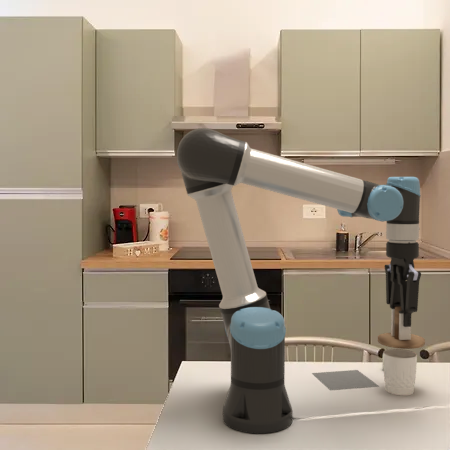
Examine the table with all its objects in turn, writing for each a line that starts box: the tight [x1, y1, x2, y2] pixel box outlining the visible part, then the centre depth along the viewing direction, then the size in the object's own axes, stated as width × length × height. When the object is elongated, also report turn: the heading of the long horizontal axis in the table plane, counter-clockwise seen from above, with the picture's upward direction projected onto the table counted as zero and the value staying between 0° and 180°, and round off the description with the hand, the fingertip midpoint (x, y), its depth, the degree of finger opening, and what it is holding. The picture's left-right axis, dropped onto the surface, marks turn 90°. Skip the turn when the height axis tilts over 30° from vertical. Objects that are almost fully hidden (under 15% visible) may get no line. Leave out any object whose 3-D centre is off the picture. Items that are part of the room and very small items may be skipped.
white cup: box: [382, 348, 418, 396], centre depth 143 cm, size 8×8×10 cm
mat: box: [311, 369, 380, 391], centre depth 151 cm, size 13×13×1 cm
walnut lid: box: [377, 306, 426, 350], centre depth 142 cm, size 11×11×8 cm
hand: (400, 337), depth 142 cm, fingers closed on walnut lid, 3 cm apart
